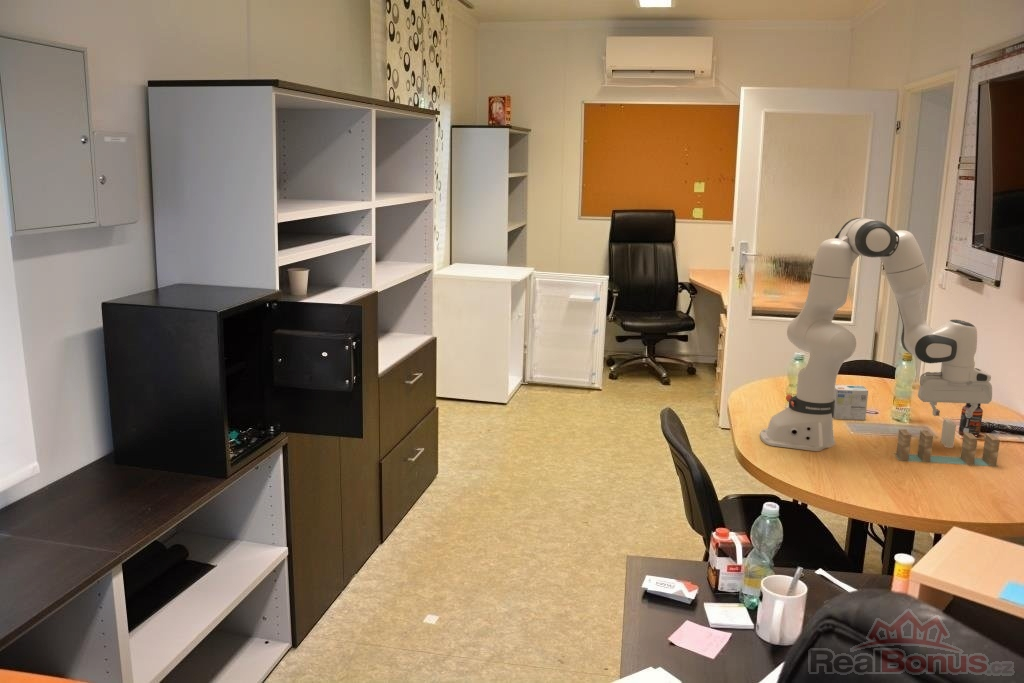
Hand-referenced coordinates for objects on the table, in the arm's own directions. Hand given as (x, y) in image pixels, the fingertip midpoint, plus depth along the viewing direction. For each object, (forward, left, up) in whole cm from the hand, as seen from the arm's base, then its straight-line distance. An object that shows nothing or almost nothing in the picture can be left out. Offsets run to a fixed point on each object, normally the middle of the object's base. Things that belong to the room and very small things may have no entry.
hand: (952, 415), depth 249 cm
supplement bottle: (+10, +13, -10) cm, 19 cm away
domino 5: (+6, -14, -9) cm, 18 cm away
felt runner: (-6, -14, -10) cm, 18 cm away
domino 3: (-1, 0, -10) cm, 10 cm away
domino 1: (-18, -14, -9) cm, 24 cm away
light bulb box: (-25, +25, -10) cm, 36 cm away
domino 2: (-12, -14, -9) cm, 21 cm away
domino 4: (0, -14, -9) cm, 17 cm away
